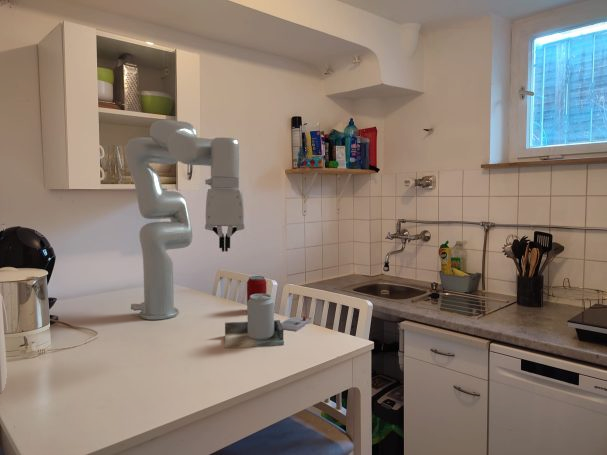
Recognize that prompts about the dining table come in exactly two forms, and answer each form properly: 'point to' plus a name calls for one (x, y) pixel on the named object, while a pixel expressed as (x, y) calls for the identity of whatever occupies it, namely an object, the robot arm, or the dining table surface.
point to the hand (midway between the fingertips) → (224, 250)
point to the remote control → (295, 323)
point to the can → (260, 316)
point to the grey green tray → (239, 337)
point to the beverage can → (256, 286)
